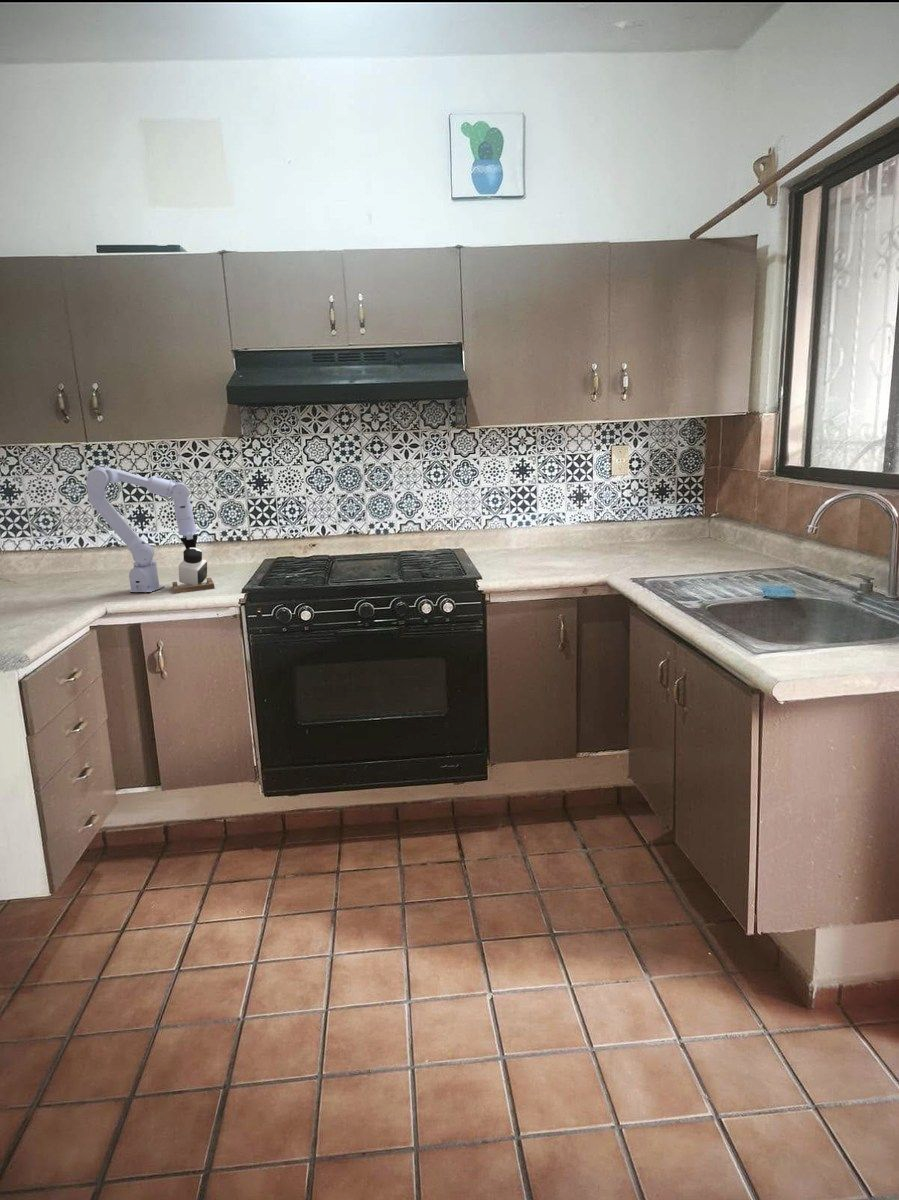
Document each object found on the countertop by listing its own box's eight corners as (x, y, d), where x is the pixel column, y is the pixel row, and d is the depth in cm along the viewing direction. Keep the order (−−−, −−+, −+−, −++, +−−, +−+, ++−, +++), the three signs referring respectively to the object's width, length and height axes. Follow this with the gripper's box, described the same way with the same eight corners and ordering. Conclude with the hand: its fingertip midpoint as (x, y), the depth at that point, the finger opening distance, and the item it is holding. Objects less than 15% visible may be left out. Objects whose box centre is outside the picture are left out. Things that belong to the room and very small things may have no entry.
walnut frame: (172, 586, 269) (172, 582, 268) (211, 581, 273) (210, 577, 273) (174, 593, 257) (173, 589, 257) (214, 588, 262) (214, 584, 262)
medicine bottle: (198, 587, 266) (197, 558, 260) (178, 582, 267) (177, 553, 260) (207, 577, 272) (207, 548, 266) (188, 572, 273) (187, 543, 266)
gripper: (198, 519, 259) (206, 558, 263) (195, 514, 272) (202, 551, 276) (177, 522, 256) (184, 562, 260) (174, 517, 270) (182, 555, 273)
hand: (192, 556), depth 268 cm, fingers closed, pressing on medicine bottle
